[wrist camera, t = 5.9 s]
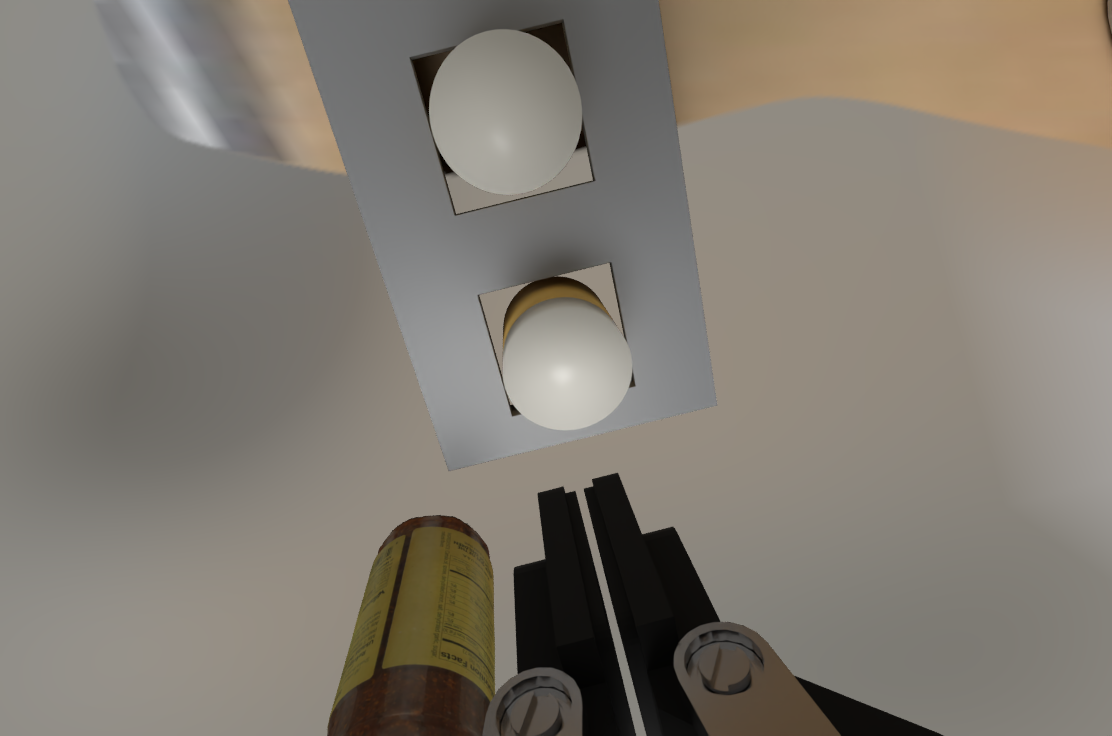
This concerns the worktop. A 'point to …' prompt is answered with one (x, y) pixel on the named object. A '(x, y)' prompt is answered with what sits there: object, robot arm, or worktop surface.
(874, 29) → the worktop surface
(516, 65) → the button middle
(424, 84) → the worktop surface
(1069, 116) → the worktop surface
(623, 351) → the button
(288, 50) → the worktop surface
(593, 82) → the button board
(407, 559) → the sauce bottle
